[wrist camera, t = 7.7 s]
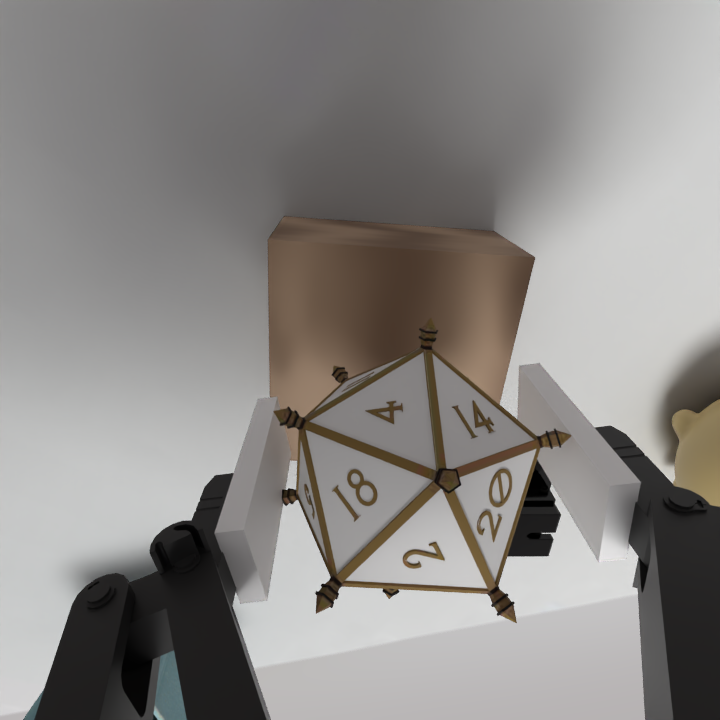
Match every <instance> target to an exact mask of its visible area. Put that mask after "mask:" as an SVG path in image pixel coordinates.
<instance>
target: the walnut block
mask: <svg viewBox="0 0 720 720" xmlns="http://www.w3.org/2000/svg"><path fill="white" fill-rule="evenodd" d="M534 260H535V257H534V256H532V255H531V254H529V253H527V252H526V251H524V250H523V249H521V248H520V247H518V246H516V245H515V244H513V243H512V242H510V241H509V240H507V239H505V238H504V237H502V236H501V235H499V234H498V233H496V232H494V231H485V230H471V229H457V228H443V227H428V226H414V225H400V224H386V223H372V222H358V221H343V220H329V219H315V218H301V217H287V216H284V217H283V218H282V220H281V221H280V223H279V224H278V226H277V227H276V228H275V230H274V231H273V233H272V234H271V236H270V237H269V238H268V294H269V365H270V397H278V401H279V405H280V410H281V409H286V408H287V407H290V409H291V410H292V411H295V410H296V411H297V412H298V414H299V416H301V417H305V416H306V415H307V414H308V413H309V412H310V411H311V410H312V409H314V408H315V407H316V406H317V405H318V404H319V403H320V402H321V401H322V400H323V399H324V398H326V397H327V396H328V395H329V394H330V393H331V392H332V391H333V390H334V389H335V388H337V387H338V386H339V385H340V384H341V382H340V383H339V382H338V381H336V380H335V377H333V376H332V373H333V366H338V367H345V371H346V372H348V378H350V377H352V376H355V375H357V374H359V373H362V372H364V371H366V370H369V369H371V368H373V367H376V366H378V365H380V364H383V363H385V362H387V361H390V360H392V359H394V358H396V357H399V356H401V355H403V354H406V353H408V352H410V351H413V350H415V349H417V348H420V346H421V340H420V339H419V336H420V335H421V331H420V330H419V328H422V327H423V326H424V325H425V324H426V323H427V322H428V320H429V319H430V318H432V320H433V323H434V325H435V327H436V330H438V333H437V334H436V336H435V338H436V341H435V342H434V343H433V345H432V349H434V350H435V351H436V352H437V353H438V354H440V355H441V356H442V357H443V358H444V359H446V360H447V361H448V362H449V363H450V364H452V365H453V366H454V367H455V368H456V369H457V370H459V371H460V372H461V373H462V374H463V375H465V376H466V377H467V378H468V377H469V380H471V381H472V382H473V383H474V384H475V385H477V386H478V387H479V388H480V389H481V390H483V391H484V392H485V393H486V394H487V395H488V396H490V397H491V398H492V399H493V400H494V401H496V402H497V403H498V404H500V400H501V396H502V392H503V387H504V383H505V379H506V375H507V371H508V367H509V363H510V359H511V355H512V350H513V346H514V342H515V338H516V334H517V330H518V326H519V322H520V318H521V313H522V309H523V305H524V301H525V297H526V293H527V289H528V285H529V281H530V276H531V272H532V268H533V264H534ZM284 426H285V425H284ZM285 430H286V434H287V438H288V443H289V447H290V451H291V458H290V460H293V461H297V460H298V435H299V430H298V429H297V428H290V429H288V428H287V426H285Z"/></svg>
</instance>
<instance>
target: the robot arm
mask: <svg viewBox="0 0 720 720" xmlns="http://www.w3.org/2000/svg"><path fill="white" fill-rule="evenodd" d="M276 410H280V405H279V401H278V397H270V398H262V399H258V400H257V403H256V406H255V409H254V412H253V415H252V418H251V422H250V425H249V428H248V431H247V434H246V437H245V440H244V443H243V446H242V449H241V452H240V456H239V459H238V462H237V465H236V468H235V471H234V473H231V474H223V475H215V476H214V477H213V478H212V480H211V481H210V482H209V483H208V484H207V485H206V486H205V488H204V490H203V493H202V495H201V498H200V502H199V503H198V506H197V508H196V512H195V513H194V516H193V518H192V521H181V522H178V523H175V524H172V525H170V526H169V527H167V528H165V529H163V530H162V531H161V532H160V533H159V534H158V535H157V536H156V537H155V538H154V540H153V542H152V543H151V546H150V554H151V557H152V559H153V561H154V563H155V565H156V567H157V569H158V571H157V572H155V573H153V574H151V575H148V576H145V577H143V578H140V579H138V580H135V581H132V582H130V583H129V581H128V580H127V579H126V577H125V576H124V575H121V574H117V573H115V574H108V575H105V576H102V577H100V578H98V579H95V580H94V581H93V582H91V583H90V584H88V585H87V586H86V587H85V588H84V589H83V590H82V591H81V592H80V593H79V594H78V595H77V597H76V599H75V600H74V602H73V604H72V607H71V610H70V613H69V616H68V619H67V622H66V625H65V628H64V631H63V634H62V637H61V640H60V643H59V646H58V649H57V652H56V655H55V658H54V661H53V664H52V667H51V670H50V673H49V676H48V679H47V682H46V685H45V688H44V691H43V694H42V697H41V700H40V703H39V706H38V709H37V713H36V716H35V719H34V720H153V714H154V706H155V698H156V690H157V682H158V674H159V665H160V657H161V656H162V655H164V654H167V653H169V652H171V651H173V650H174V653H175V659H176V664H177V670H178V675H179V680H180V686H181V691H182V697H183V702H184V708H185V713H186V719H187V720H271V719H270V716H269V713H268V710H267V707H266V704H265V701H264V698H263V695H262V692H261V689H260V686H259V683H258V680H257V677H256V674H255V671H254V668H253V665H252V662H251V659H250V656H249V653H248V650H247V647H246V644H245V641H244V638H243V635H242V632H241V629H240V626H239V624H238V621H237V618H236V615H235V612H234V609H233V607H232V605H233V600H234V596H235V592H236V593H237V596H238V598H239V601H240V604H241V603H250V602H259V601H267V598H268V592H269V586H270V580H271V574H272V568H273V562H274V556H275V549H276V543H277V537H278V531H279V525H280V519H281V513H282V507H283V501H282V489H284V490H285V488H286V482H287V476H288V470H289V464H290V458H291V451H290V447H289V443H288V438H287V434H286V430H285V426H284V425H283V426H280V422H279V420H278V419H277V417H276V415H275V413H274V412H273V411H276ZM517 420H518V421H519V422H521V423H522V424H523V425H524V426H525V427H527V428H528V429H529V430H530V431H531V432H533V433H534V434H535V435H536V436H541V435H543V434H545V433H546V432H545V431H548V432H550V431H554V429H555V428H556V430H557V431H561V432H564V433H567V434H570V435H571V437H570V438H569V439H568V440H567V441H566V442H565V443H564V444H563V445H561V448H559V446H558V447H553V449H551V448H548V447H543V448H540V452H539V455H538V458H537V460H538V461H539V463H540V465H541V466H542V468H543V470H544V471H545V473H546V475H547V476H548V478H549V480H550V481H551V483H552V485H553V486H554V488H555V490H556V491H557V493H558V495H559V497H560V498H561V500H562V502H563V503H564V505H565V507H566V508H567V510H568V512H569V513H570V515H571V517H572V518H573V520H574V522H575V523H576V525H577V527H578V528H579V530H580V532H581V533H582V535H583V537H584V539H585V540H586V542H587V544H588V545H589V547H590V549H591V550H592V552H593V554H594V555H595V557H596V559H597V560H598V562H606V561H615V560H623V559H627V554H628V549H629V544H630V545H631V546H632V548H633V549H634V551H635V552H636V553H637V555H638V556H639V558H638V563H637V568H636V572H635V577H634V582H633V587H635V588H638V601H639V619H640V636H641V654H642V670H643V688H644V706H645V720H720V507H718V506H713V505H710V504H709V502H707V501H706V500H705V499H704V498H703V497H702V496H700V495H699V494H697V493H695V492H693V491H691V490H688V489H685V488H681V487H676V486H674V485H673V484H672V483H671V482H670V481H669V480H668V478H667V477H666V476H665V475H664V474H663V473H662V472H661V471H660V470H659V469H658V468H657V467H656V466H655V465H654V464H653V463H652V461H651V460H650V459H649V458H648V457H647V456H645V455H644V453H643V452H642V451H641V450H640V449H639V448H638V447H636V444H635V443H634V442H633V441H632V440H631V439H630V438H629V437H628V436H627V435H626V434H624V433H623V432H621V431H619V430H617V429H616V428H614V427H612V426H604V427H596V428H594V427H593V425H592V424H591V423H590V422H589V421H588V420H587V418H586V417H585V416H584V415H583V414H582V413H581V411H580V410H579V409H578V408H577V407H576V406H575V404H574V403H573V402H572V401H571V400H570V399H569V397H568V396H567V395H566V394H565V393H564V392H563V390H562V389H561V388H560V387H559V386H558V384H557V383H556V382H555V381H554V380H553V379H552V377H551V376H550V375H549V374H548V373H547V372H546V370H545V369H544V368H543V367H542V366H541V365H540V363H537V364H529V365H521V366H519V386H518V419H517Z"/></svg>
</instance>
